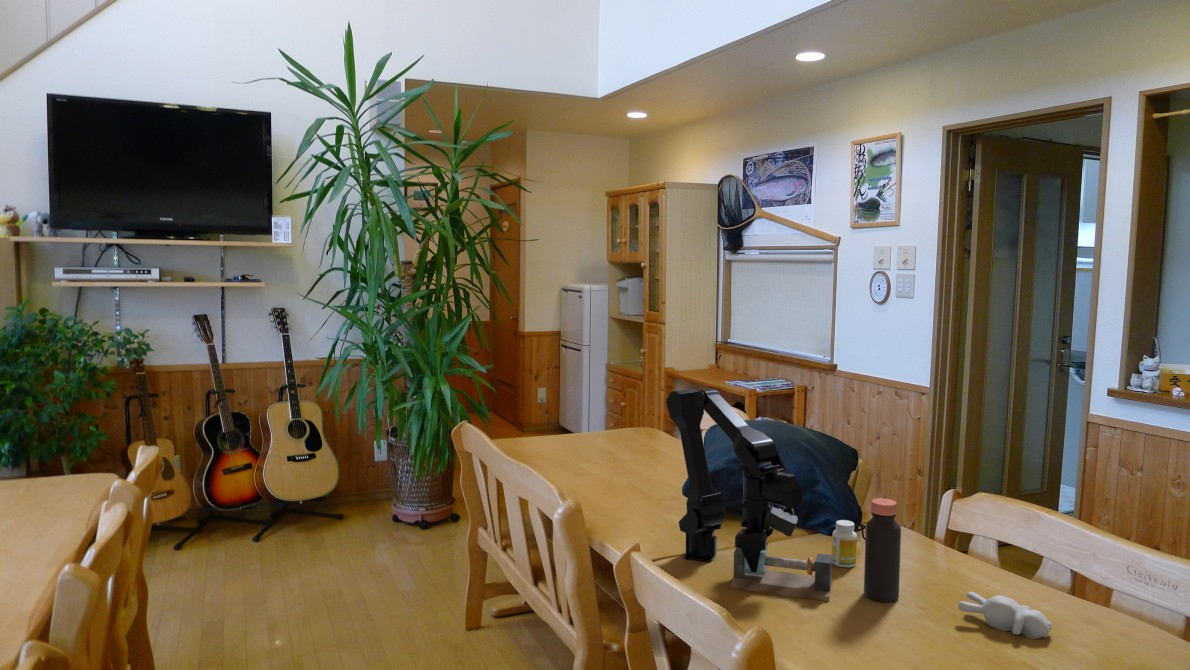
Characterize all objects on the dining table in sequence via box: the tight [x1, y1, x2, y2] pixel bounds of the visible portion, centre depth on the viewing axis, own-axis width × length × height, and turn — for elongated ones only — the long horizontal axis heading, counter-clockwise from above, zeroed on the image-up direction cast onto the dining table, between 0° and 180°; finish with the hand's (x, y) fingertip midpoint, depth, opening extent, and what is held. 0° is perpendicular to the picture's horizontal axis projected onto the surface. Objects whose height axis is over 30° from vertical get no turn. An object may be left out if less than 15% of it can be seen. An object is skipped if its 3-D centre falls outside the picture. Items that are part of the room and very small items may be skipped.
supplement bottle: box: [831, 519, 858, 569], centre depth 182 cm, size 5×5×10 cm
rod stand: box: [730, 547, 833, 602], centre depth 170 cm, size 20×10×7 cm, turn 70°
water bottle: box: [863, 497, 902, 604], centre depth 163 cm, size 7×7×20 cm
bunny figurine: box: [957, 591, 1053, 640], centre depth 151 cm, size 10×5×15 cm
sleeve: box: [745, 546, 768, 576], centre depth 172 cm, size 4×5×5 cm
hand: (755, 567), depth 172 cm, fingers closed on sleeve, 5 cm apart
